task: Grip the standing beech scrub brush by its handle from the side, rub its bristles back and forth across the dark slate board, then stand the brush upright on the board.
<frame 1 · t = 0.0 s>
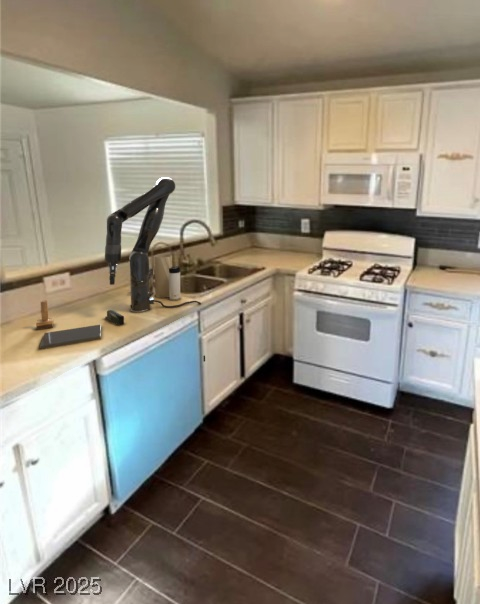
hand: (111, 282, 187), 17 cm above the countertop, tool pointing down, fingers open, 8 cm apart
dark green rounded bar: (114, 321, 179), on the countertop
tall beige box: (164, 295, 220), on the countertop
travel mug: (175, 299, 214), on the countertop
brush: (45, 327, 170), on the countertop
slate board: (72, 337, 160), on the countertop
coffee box: (145, 295, 220), on the countertop
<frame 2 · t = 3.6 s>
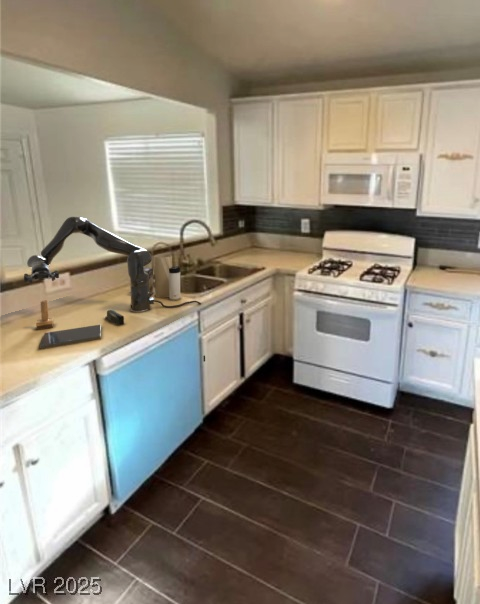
hand: (42, 280, 175), 21 cm above the countertop, tool horizontal, fingers open, 8 cm apart
nothing on the countertop moved.
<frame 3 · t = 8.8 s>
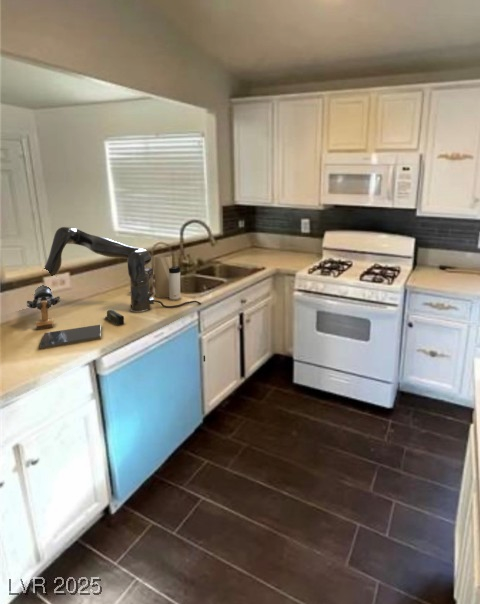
hand: (44, 307, 166), 11 cm above the countertop, tool horizontal, fingers closed on brush, 2 cm apart
brush: (45, 327, 170), on the countertop, touching gripper
everything else where it was.
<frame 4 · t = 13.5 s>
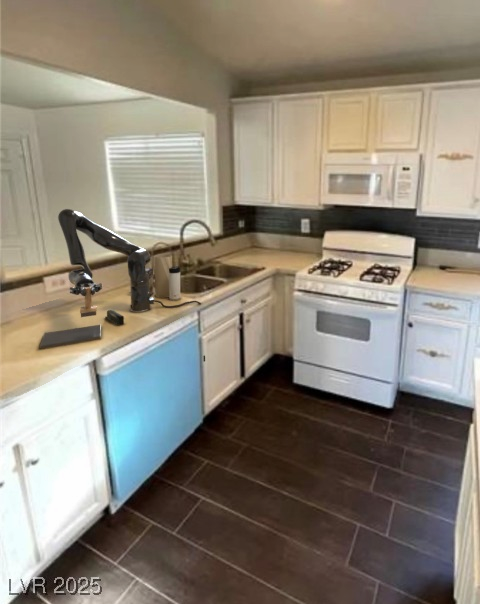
hand: (88, 293, 160), 20 cm above the countertop, tool horizontal, fingers closed on brush, 2 cm apart
brush: (88, 314, 164), point 9 cm above the countertop, touching gripper
everything else where it was.
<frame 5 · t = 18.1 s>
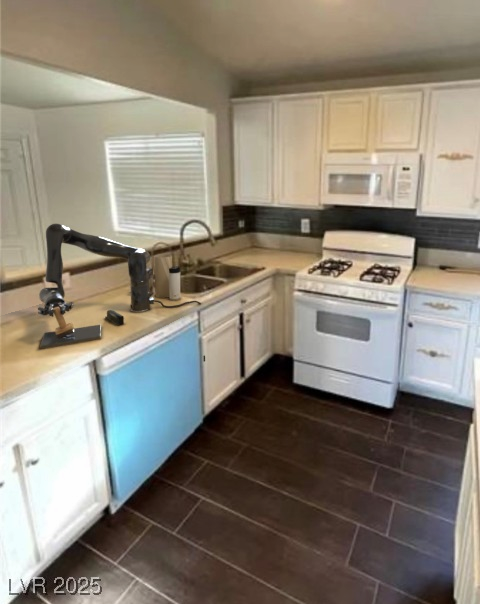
hand: (57, 313, 154), 13 cm above the countertop, tool horizontal, fingers closed on brush, 3 cm apart
brush: (66, 333, 159), point 2 cm above the countertop, tilted 15°, touching gripper
everything else where it was.
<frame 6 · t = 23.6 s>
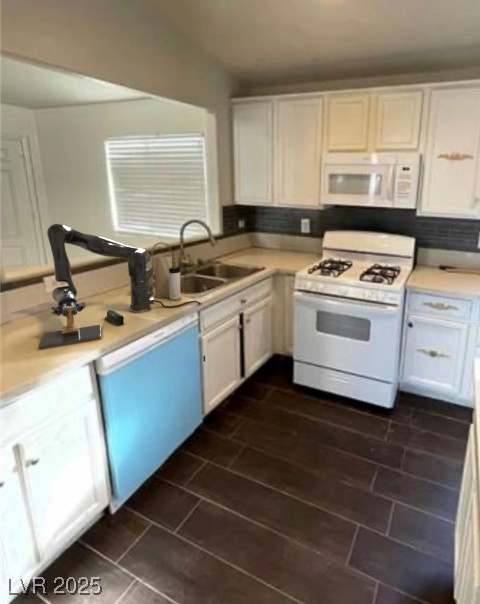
hand: (70, 313, 156), 12 cm above the countertop, tool horizontal, fingers closed on brush, 2 cm apart
brush: (71, 334, 160), point 2 cm above the countertop, touching gripper
everything else where it was.
when the fingers open (12 cm above the countertop, at t = 27.9 s): brush stays where it is, resting on slate board.
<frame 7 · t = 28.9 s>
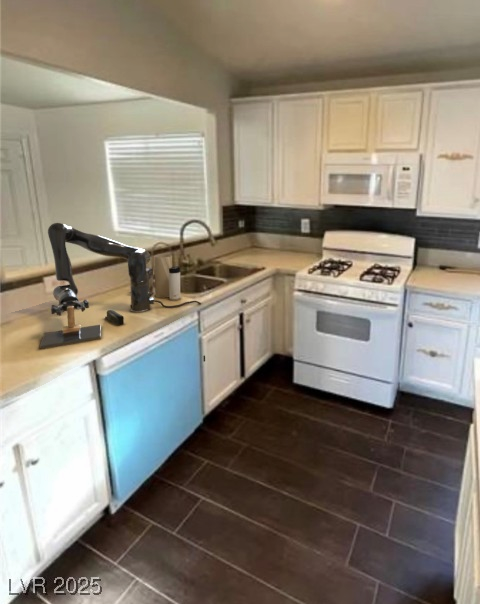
hand: (71, 311, 157), 13 cm above the countertop, tool horizontal, fingers open, 8 cm apart
brush: (71, 334, 160), point 1 cm above the countertop, touching slate board
everything else where it was.
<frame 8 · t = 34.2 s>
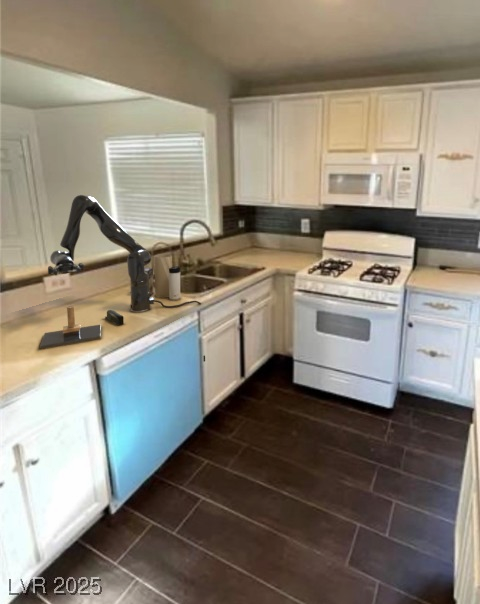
hand: (67, 271, 165), 28 cm above the countertop, tool horizontal, fingers open, 8 cm apart
nothing on the countertop moved.
at the end: brush touching slate board; brush tilted 0°; brush inside the target area on the slate board (0.3 cm from its centre), point 1.5 cm above the slate board's base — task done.
